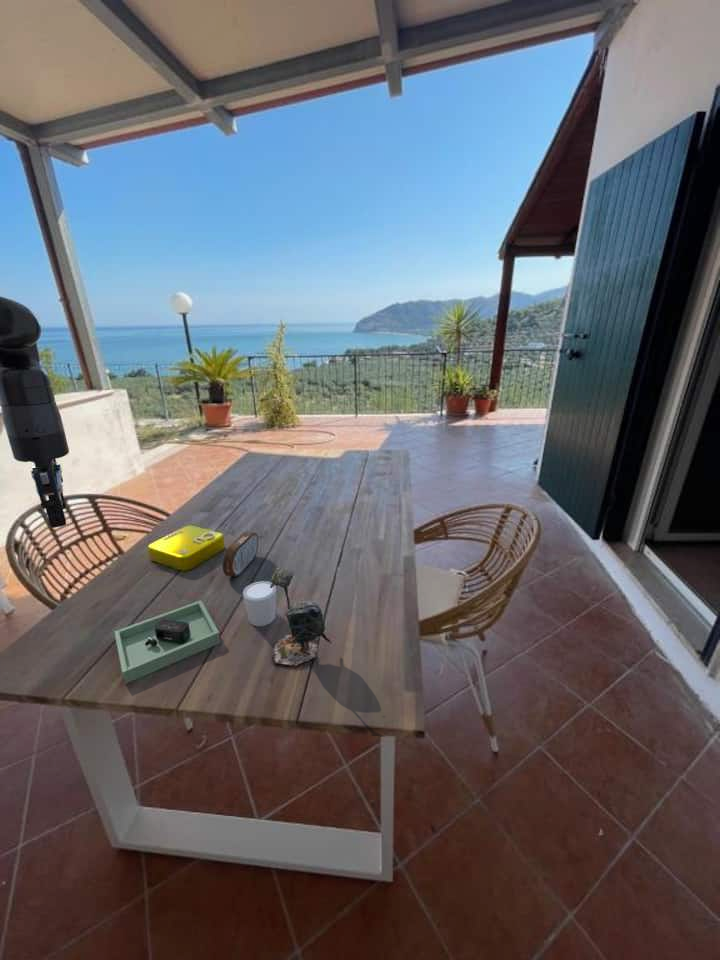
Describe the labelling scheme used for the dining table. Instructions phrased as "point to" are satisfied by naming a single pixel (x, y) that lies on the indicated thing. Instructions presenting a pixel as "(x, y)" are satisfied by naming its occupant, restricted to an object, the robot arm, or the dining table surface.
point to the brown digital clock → (240, 554)
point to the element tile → (186, 547)
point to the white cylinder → (260, 603)
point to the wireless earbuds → (170, 632)
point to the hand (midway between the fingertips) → (59, 517)
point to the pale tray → (152, 658)
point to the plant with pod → (298, 626)
